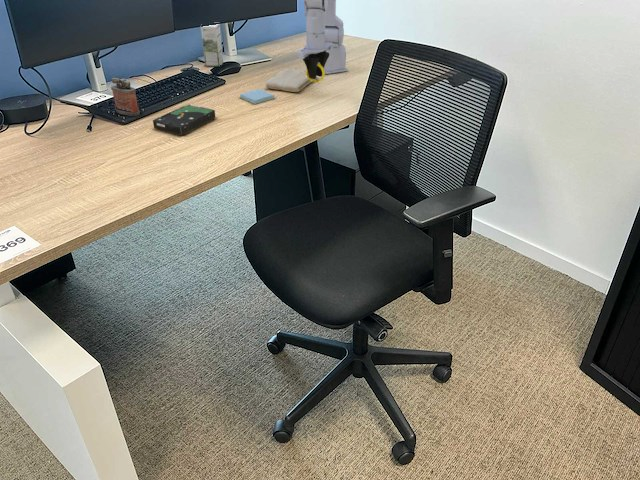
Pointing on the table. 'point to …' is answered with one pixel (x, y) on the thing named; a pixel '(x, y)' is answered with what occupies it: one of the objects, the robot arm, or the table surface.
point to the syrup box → (212, 45)
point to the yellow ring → (322, 73)
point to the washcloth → (289, 80)
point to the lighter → (125, 97)
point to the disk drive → (184, 119)
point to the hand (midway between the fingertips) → (315, 77)
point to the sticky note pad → (257, 96)
